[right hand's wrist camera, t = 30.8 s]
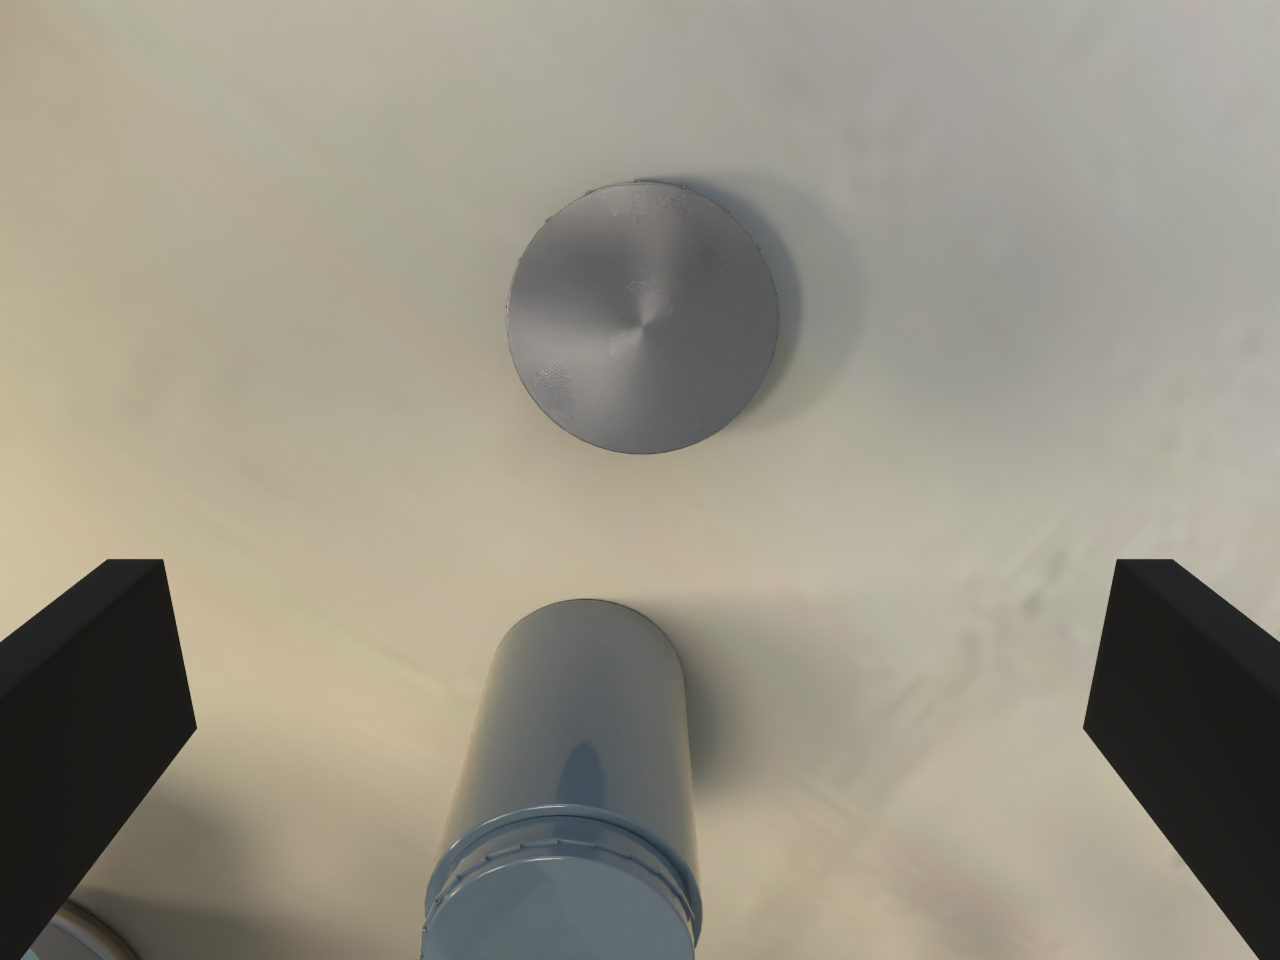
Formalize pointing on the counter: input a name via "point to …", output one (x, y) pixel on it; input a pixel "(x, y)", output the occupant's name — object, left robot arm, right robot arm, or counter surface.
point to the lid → (642, 318)
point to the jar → (572, 801)
